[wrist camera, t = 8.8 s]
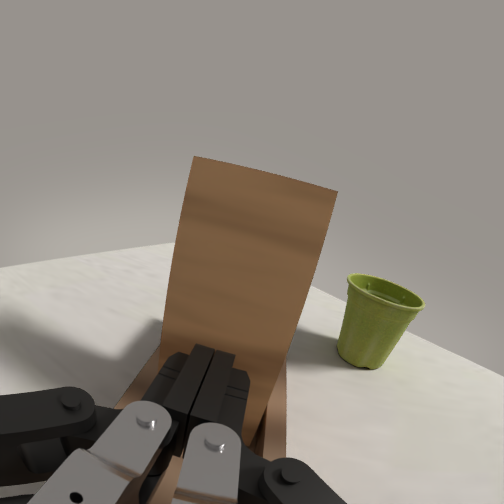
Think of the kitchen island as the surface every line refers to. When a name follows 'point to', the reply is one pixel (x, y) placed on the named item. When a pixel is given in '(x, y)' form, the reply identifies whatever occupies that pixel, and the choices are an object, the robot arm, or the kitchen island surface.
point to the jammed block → (243, 270)
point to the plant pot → (374, 319)
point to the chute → (263, 444)
